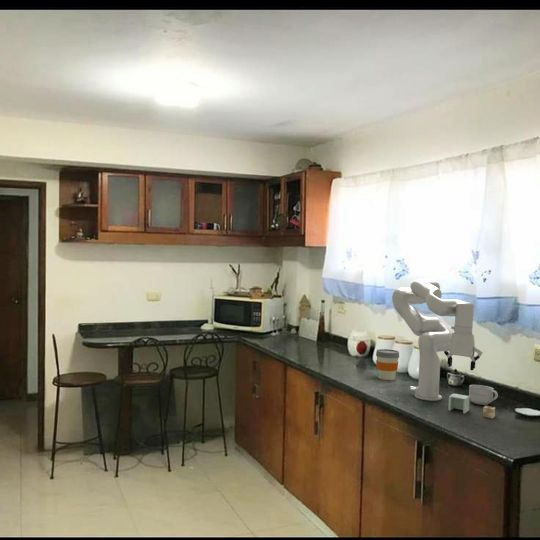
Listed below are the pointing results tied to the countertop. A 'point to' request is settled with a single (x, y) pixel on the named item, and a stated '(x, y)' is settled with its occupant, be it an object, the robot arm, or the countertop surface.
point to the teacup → (481, 394)
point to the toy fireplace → (459, 402)
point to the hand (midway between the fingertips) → (460, 368)
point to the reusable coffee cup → (387, 363)
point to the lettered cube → (489, 412)
